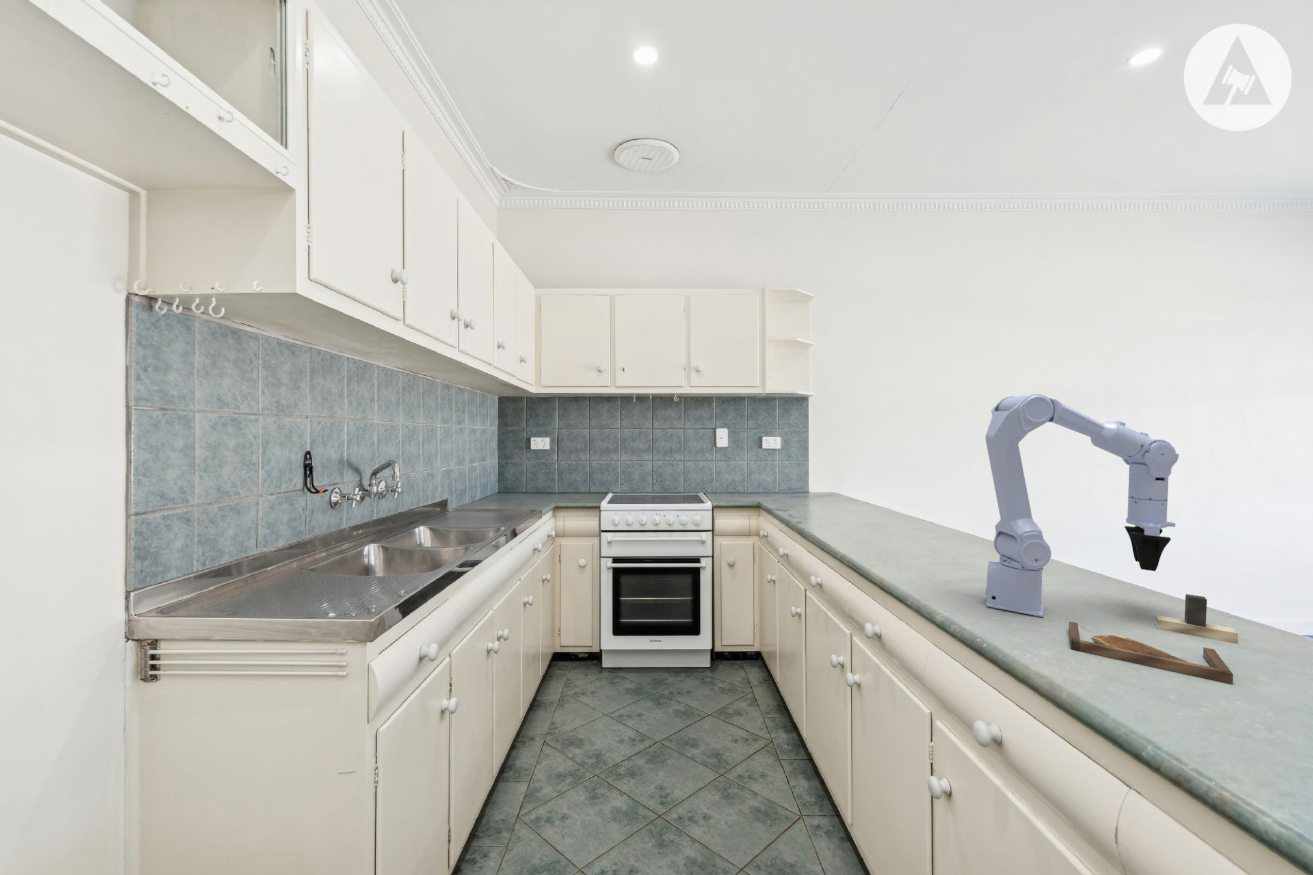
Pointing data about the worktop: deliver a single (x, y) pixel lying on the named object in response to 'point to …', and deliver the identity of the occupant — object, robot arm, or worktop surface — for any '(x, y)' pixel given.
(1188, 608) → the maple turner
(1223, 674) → the walnut frame
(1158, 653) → the shard
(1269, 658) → the worktop surface
